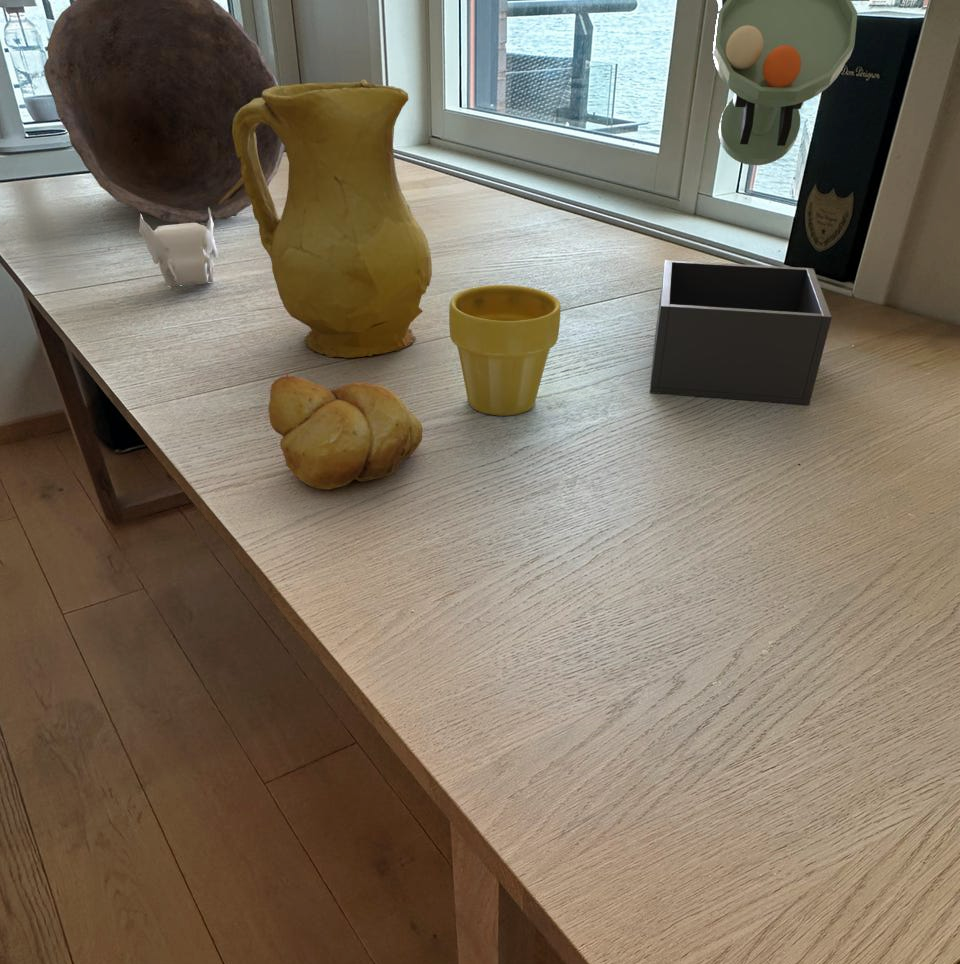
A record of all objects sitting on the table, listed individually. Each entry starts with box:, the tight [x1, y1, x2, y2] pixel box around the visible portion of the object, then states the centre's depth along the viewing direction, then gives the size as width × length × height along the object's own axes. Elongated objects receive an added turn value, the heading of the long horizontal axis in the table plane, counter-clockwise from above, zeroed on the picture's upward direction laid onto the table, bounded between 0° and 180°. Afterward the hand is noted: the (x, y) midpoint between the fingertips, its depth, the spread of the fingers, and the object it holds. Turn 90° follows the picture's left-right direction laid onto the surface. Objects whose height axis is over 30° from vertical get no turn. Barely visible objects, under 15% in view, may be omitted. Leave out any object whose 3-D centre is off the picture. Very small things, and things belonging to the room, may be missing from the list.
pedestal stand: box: [712, 0, 858, 166], centre depth 83 cm, size 12×12×13 cm
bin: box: [649, 259, 833, 406], centre depth 89 cm, size 16×16×9 cm
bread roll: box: [268, 374, 423, 490], centre depth 71 cm, size 13×10×8 cm
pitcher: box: [232, 79, 433, 359], centre depth 91 cm, size 17×19×25 cm
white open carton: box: [138, 207, 219, 288], centre depth 111 cm, size 10×12×9 cm
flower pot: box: [448, 284, 562, 417], centre depth 82 cm, size 10×10×10 cm
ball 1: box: [726, 25, 763, 69], centre depth 76 cm, size 3×3×3 cm
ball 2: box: [763, 45, 801, 87], centre depth 75 cm, size 3×3×3 cm
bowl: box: [43, 0, 285, 224], centre depth 142 cm, size 34×35×30 cm
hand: (765, 135), depth 82 cm, fingers closed on pedestal stand, 3 cm apart
